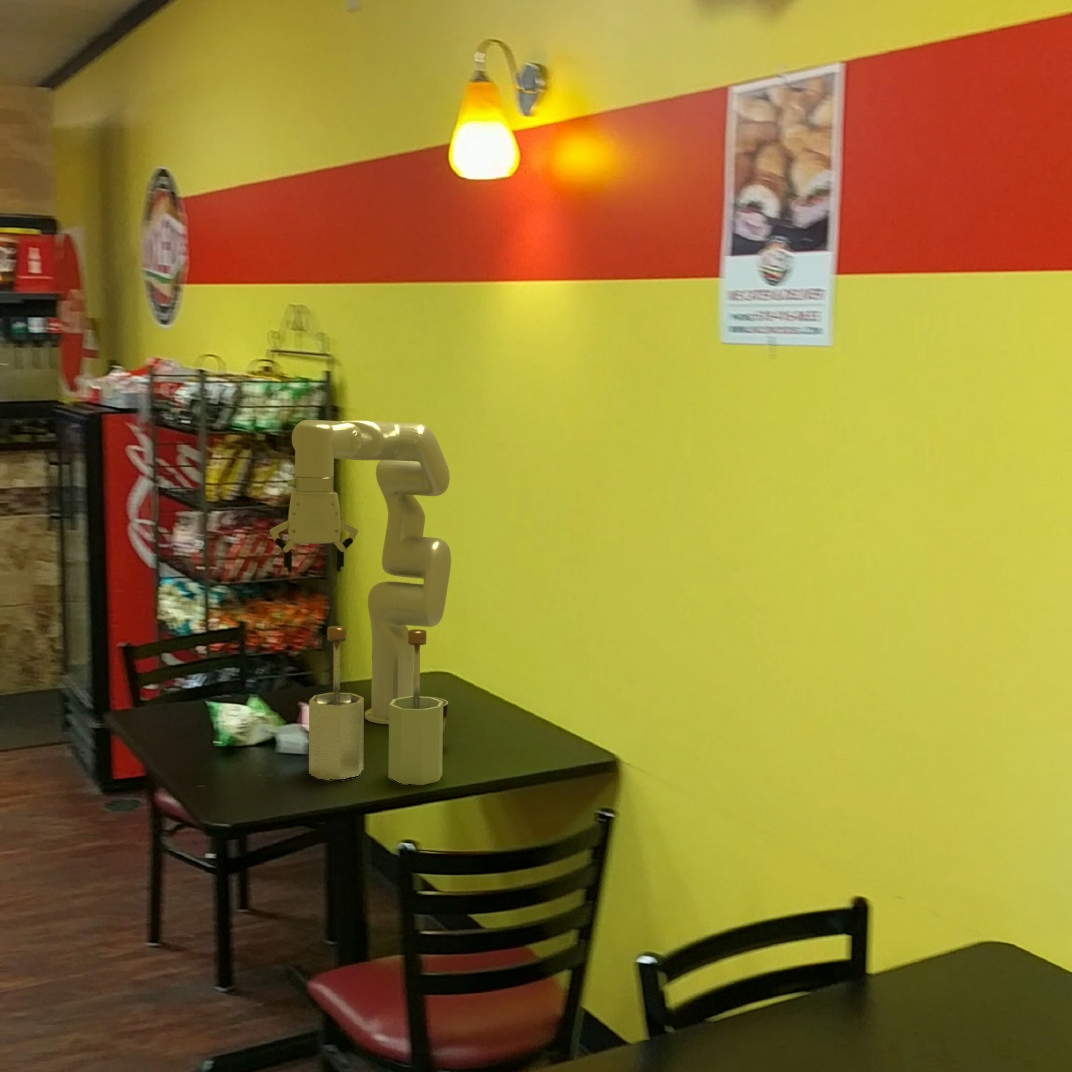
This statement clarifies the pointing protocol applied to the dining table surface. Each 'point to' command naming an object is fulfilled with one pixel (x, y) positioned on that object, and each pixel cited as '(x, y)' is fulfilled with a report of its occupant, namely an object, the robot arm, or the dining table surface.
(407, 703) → the cup
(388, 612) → the robot arm
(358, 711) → the beige tall hollow piece
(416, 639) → the sage plunger
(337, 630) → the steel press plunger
